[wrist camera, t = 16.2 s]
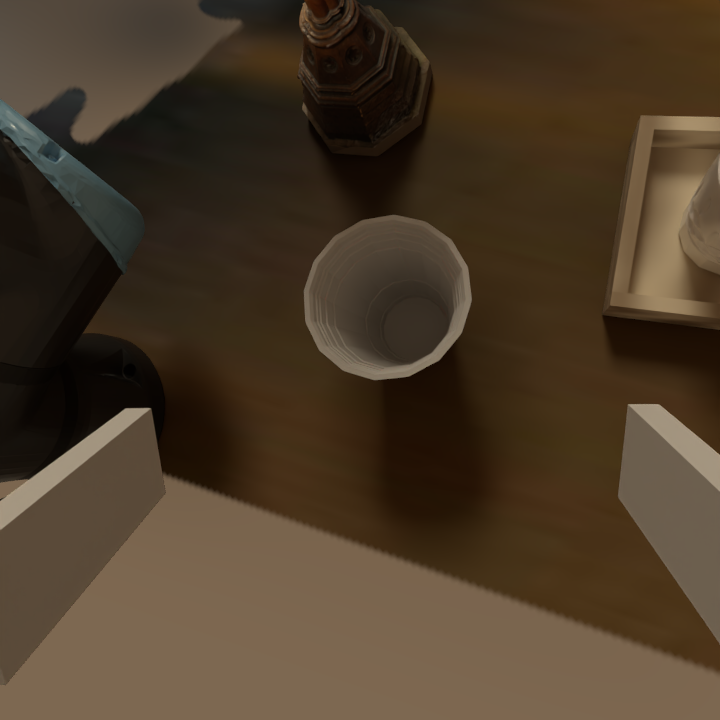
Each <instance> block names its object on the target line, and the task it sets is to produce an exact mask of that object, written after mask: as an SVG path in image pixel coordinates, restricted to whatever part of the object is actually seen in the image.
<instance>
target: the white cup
mask: <svg viewBox="0 0 720 720" xmlns="http://www.w3.org/2000/svg"><path fill="white" fill-rule="evenodd" d="M679 236H680V239H681V243H682V247H683V250H684V252H685V253H686V254H687V255H688V256H689V257H690V258H691V259H692V261H693V262H694V263H695V264H696V265H697V266H698V267H700V268H703V269H705V270H708V271H710V272H713V273H716V274H718V275H720V152H719V154H718V155H717V157H716V158H715V160H714V161H713V163H712V164H711V166H710V167H709V169H708V171H707V172H706V174H705V175H704V177H703V179H702V180H701V182H700V184H699V186H698V188H697V189H696V191H695V193H694V195H693V197H692V199H691V201H690V203H689V205H688V206H687V208H686V209H685V211H684V213H683V216H682V220H681V224H680V228H679Z"/></svg>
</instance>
